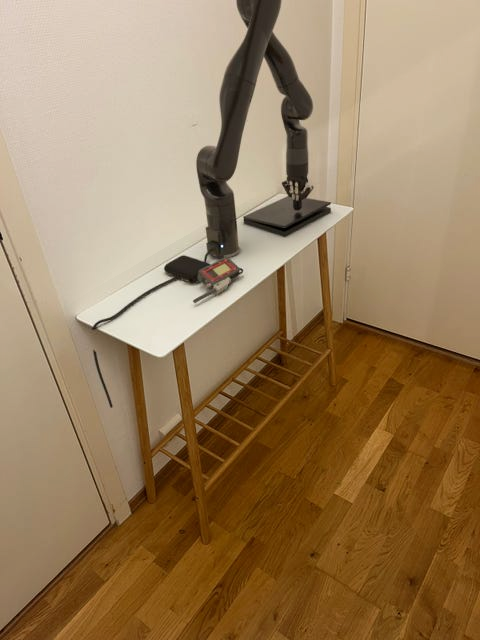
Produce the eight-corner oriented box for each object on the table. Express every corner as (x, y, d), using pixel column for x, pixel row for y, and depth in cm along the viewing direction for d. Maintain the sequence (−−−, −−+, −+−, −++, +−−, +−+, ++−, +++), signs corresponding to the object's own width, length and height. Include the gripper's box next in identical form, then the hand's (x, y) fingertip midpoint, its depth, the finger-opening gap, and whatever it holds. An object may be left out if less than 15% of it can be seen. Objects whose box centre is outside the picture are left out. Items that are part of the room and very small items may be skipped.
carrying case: (159, 274, 139) (193, 287, 130) (157, 266, 137) (191, 278, 129) (184, 260, 145) (217, 272, 137) (182, 252, 143) (216, 263, 135)
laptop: (330, 212, 167) (330, 207, 166) (284, 236, 153) (284, 231, 152) (289, 201, 180) (289, 197, 179) (243, 223, 166) (243, 218, 165)
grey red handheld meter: (249, 272, 131) (196, 301, 120) (246, 282, 134) (194, 311, 123) (229, 253, 133) (176, 280, 123) (226, 263, 137) (174, 290, 126)
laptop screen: (330, 204, 166) (330, 202, 165) (284, 228, 152) (284, 226, 151) (289, 197, 179) (289, 195, 178) (243, 218, 165) (243, 216, 164)
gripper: (275, 160, 153) (276, 209, 163) (305, 166, 145) (305, 217, 155) (289, 155, 157) (290, 202, 167) (319, 160, 149) (318, 210, 159)
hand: (297, 209), depth 161 cm, fingers closed
